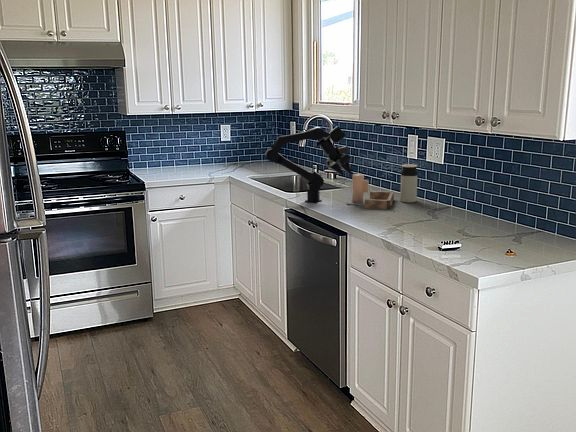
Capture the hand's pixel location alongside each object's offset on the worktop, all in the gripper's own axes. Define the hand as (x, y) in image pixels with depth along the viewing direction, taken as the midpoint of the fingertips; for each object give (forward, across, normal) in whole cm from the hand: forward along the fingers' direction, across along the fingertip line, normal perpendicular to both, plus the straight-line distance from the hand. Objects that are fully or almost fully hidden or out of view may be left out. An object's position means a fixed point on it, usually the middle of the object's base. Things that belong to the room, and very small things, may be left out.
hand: (346, 174), depth 284 cm
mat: (+13, -6, +6) cm, 16 cm away
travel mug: (+28, -12, -13) cm, 33 cm away
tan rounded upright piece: (+14, -6, +5) cm, 16 cm away
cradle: (+19, -12, 0) cm, 22 cm away
